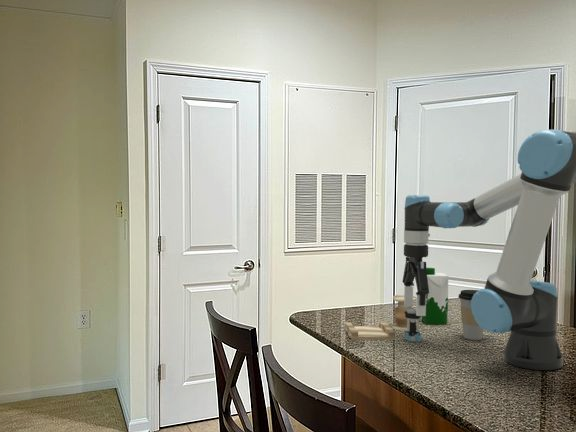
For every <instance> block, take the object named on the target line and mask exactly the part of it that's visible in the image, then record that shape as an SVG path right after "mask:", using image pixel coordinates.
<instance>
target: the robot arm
mask: <svg viewBox="0 0 576 432" xmlns="http://www.w3.org/2000/svg"><path fill="white" fill-rule="evenodd" d="M517 164H518V165H519V167H518V168H519V170H520V171H521V173H519V174H518V175H516V176H514V177H512V178H510V179H508V180H507V181H504V182H502V183H500V184H499V185H497V186H495V187H493V188H491V189H489V190H487V191H485V192H483V193H482V194H480V195H477V196H476V197H474V198H472V199H471V200H468V201H466V202H464V201H463V202H462V201H460V202H459V201H458V202H456V201H455V202H454V201H453V202H449V201H448V202H447V201H445V202H444V201H443V202H442V201H441V202H440V201H437V202H436V201H435V202H434V201H432V202H431V200H430V196H429V195H428V194H427V195H423V194H422V195H419V194H417V195H416V194H413V195H412V194H410V195H406V197H405V201H404V202H405V203H404V229H403V242H404V243H405V244H404V245H403V256H404V257H405V265H404V270H403V277H402V283H403V285H404V292H403V293H404V294H403V295H404V306H411V307H413V306H414V302H413V296H414V286H415V284H416V290H417V291H416V292H415V295H416V306H415V307H416V308H415V309H416V316H421V317H422V316H426V295H427V294H429V287H428V279H427V271H426V268H427V261H423V258H428V257H429V245H428V244H429V237H431V234H430V233H429V231H430V227H433V228H443V229H455V228H460V227H461V228H465V227H468V228H469V227H473V228H475V227H480V226H481V227H482V226H484V225H486V224H487V223H489V220H490V219H491V218H493V217H496V216H497V215H500V214H501V213H504V212H506V211H508V210H510V209H512V208H515V207H516V210H515V213H514V215H513V219H512V223H511V226H510V228H509V232H508V234H507V237H506V240H505V244H504V246H503V249H502V253H501V256H500V258H499V259H500V260H499V262H498V266H497V268H496V271H495V272H492V273H491V274H489V275H488V276H487V279H486V283H485V285H484V287H483V288H481V289H478V290H479V291H477V292H476V293H475V294H474V295H473V297H472V300H471V311H472V314H473V316H474V317H475V321H476V322H477V323H478V325H479V326H480V327H481V328H483V329H484V330H483V331H486V332H488V333H491V334H498V333H500V334H505V333H508V332H510V333H509V336H508V339H507V342H506V344H505V348H504V350H503V361H504V362H506V363H508V364H509V365H512V366H514V367H518V368H522V369H527V370H528V369H529V370H534V371H535V370H537V371H552V370H553V371H555V370H558V369H561V368H562V367H563V365H564V364H563V363H564V361H563V359H564V358H563V354H562V351H561V349H560V346H559V342H558V339H557V321H558V319H557V315H558V299H559V296H558V288H557V286H556V284H554V283H551V282H546V281H539V280H532V278H533V276H534V273H535V269H536V267H537V264H538V261H539V259H540V255H541V252H542V250H543V247H544V243H545V241H546V238H547V235H548V232H549V230H550V227H551V223H552V220H553V218H554V216H555V213H556V210H557V207H558V204H559V201H560V198H561V197H562V196H563V195H566V194H567V193H569V192H570V190H571V187H572V184H574V183H576V132H574V131H566V130H559V129H543V130H537V131H536V132H534V133H532V134H530V135H528V136H527V137H526V138H525V139H524V141H522V144H521V145H520V147H519V150H518V153H517ZM414 281H415V283H414Z"/></svg>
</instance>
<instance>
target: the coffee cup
mask: <svg viewBox="0 0 576 432" xmlns="http://www.w3.org/2000/svg"><path fill="white" fill-rule="evenodd" d="M479 290H480V289H462V290H461V291H460V293H459V294H458V297H457V298H459V299H460V300H459V301H460V315H461V316H460V317H461V323H462V334H463V338H464V339H467V340H472V341H480V340H483V335H484V331H485V330H484V329H483V328H481V327H480V326H479V325H478V323H477V322H476V321H475V317H474V316H473V314H472V311H471V300H472V297H473V295H474V294H475V293H476V292H477V291H479Z"/></svg>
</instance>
